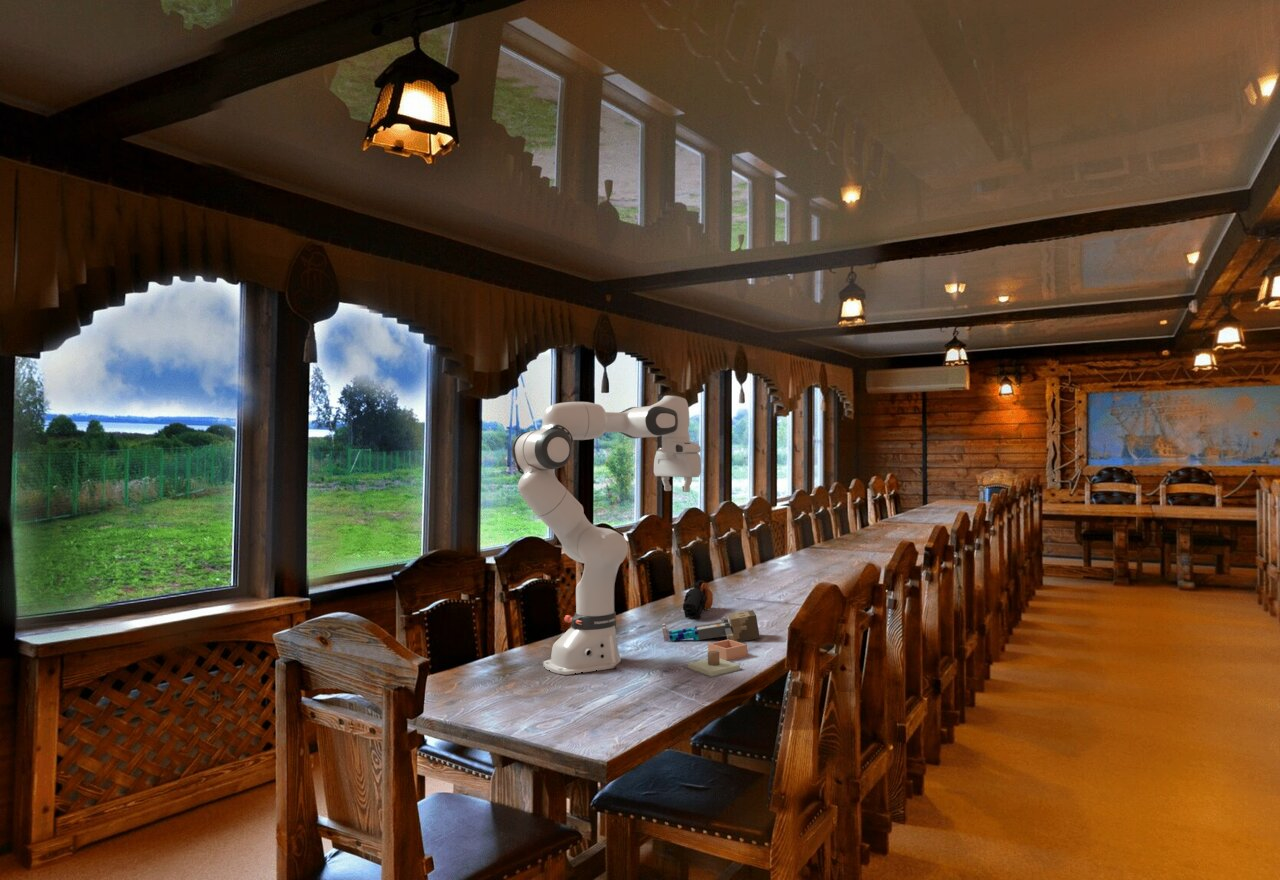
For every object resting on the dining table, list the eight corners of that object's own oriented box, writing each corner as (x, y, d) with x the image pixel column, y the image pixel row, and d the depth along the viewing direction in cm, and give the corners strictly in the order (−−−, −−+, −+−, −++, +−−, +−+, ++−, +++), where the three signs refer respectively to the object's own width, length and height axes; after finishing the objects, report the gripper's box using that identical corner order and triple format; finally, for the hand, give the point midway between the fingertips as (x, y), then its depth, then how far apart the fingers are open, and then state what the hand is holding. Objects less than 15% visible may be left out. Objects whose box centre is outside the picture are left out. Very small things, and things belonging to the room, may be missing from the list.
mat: (711, 680, 201) (711, 677, 201) (683, 670, 211) (683, 667, 211) (745, 672, 208) (745, 669, 208) (716, 663, 218) (716, 660, 218)
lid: (711, 676, 203) (711, 659, 203) (688, 667, 211) (687, 651, 211) (739, 669, 209) (739, 653, 209) (715, 661, 217) (715, 645, 217)
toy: (662, 617, 260) (749, 603, 260) (665, 639, 260) (753, 625, 260) (662, 636, 234) (759, 620, 233) (666, 661, 234) (763, 645, 233)
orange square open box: (726, 663, 218) (726, 649, 218) (708, 657, 224) (708, 643, 224) (747, 658, 222) (747, 644, 222) (729, 652, 229) (728, 639, 229)
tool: (682, 638, 277) (677, 602, 272) (697, 603, 297) (692, 569, 292) (704, 639, 274) (699, 603, 269) (717, 603, 294) (712, 569, 289)
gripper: (648, 447, 247) (649, 490, 247) (687, 446, 230) (688, 492, 230) (664, 447, 251) (665, 489, 251) (704, 446, 234) (705, 491, 234)
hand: (676, 491), depth 240 cm, fingers open, 8 cm apart
